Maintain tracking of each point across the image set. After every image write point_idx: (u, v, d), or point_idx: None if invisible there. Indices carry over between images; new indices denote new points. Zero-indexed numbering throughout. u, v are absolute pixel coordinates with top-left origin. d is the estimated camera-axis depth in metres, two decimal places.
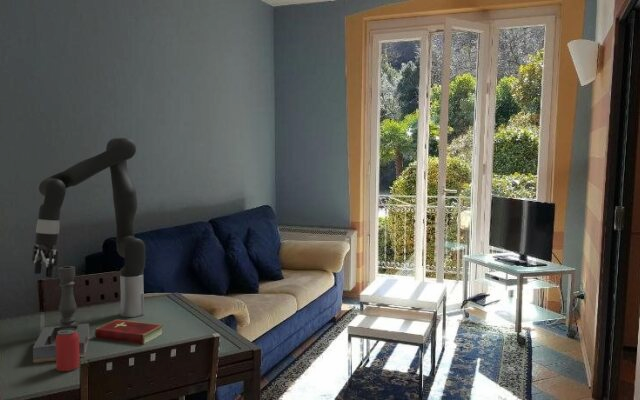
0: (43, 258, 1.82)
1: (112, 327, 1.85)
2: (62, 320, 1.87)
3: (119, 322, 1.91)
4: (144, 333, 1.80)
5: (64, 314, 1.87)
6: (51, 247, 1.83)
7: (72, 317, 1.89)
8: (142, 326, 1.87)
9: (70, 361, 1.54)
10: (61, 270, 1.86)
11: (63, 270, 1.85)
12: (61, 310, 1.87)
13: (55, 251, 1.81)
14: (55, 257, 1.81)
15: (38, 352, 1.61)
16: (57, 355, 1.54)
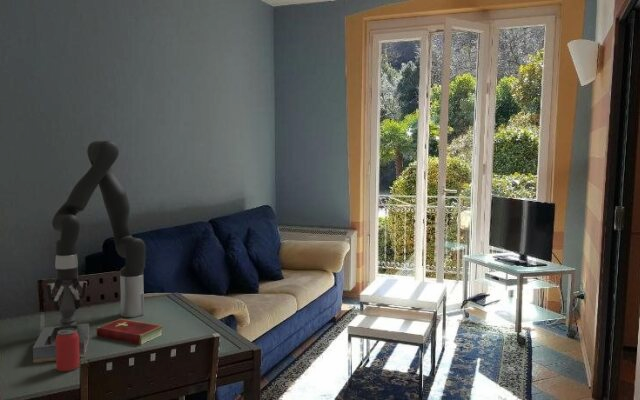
0: (73, 292, 1.88)
1: (113, 326, 1.86)
2: (62, 320, 1.87)
3: (122, 321, 1.92)
4: (141, 333, 1.79)
5: (64, 314, 1.87)
6: None
7: (72, 317, 1.89)
8: (142, 326, 1.87)
9: (70, 361, 1.54)
10: None
11: None
12: (61, 310, 1.87)
13: (86, 283, 1.91)
14: None
15: (38, 352, 1.61)
16: (57, 355, 1.54)
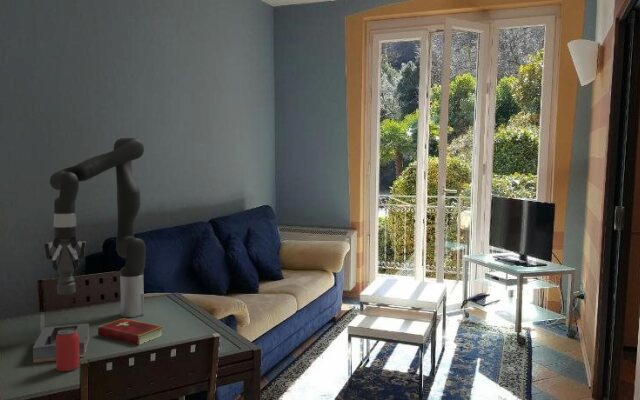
0: (71, 251, 1.85)
1: (114, 326, 1.87)
2: (60, 280, 1.84)
3: (123, 321, 1.93)
4: (140, 334, 1.79)
5: (62, 274, 1.84)
6: (76, 238, 1.87)
7: (70, 277, 1.86)
8: (142, 326, 1.87)
9: (70, 361, 1.54)
10: None
11: None
12: (59, 269, 1.84)
13: (85, 243, 1.88)
14: (84, 249, 1.89)
15: (38, 352, 1.61)
16: (57, 355, 1.54)
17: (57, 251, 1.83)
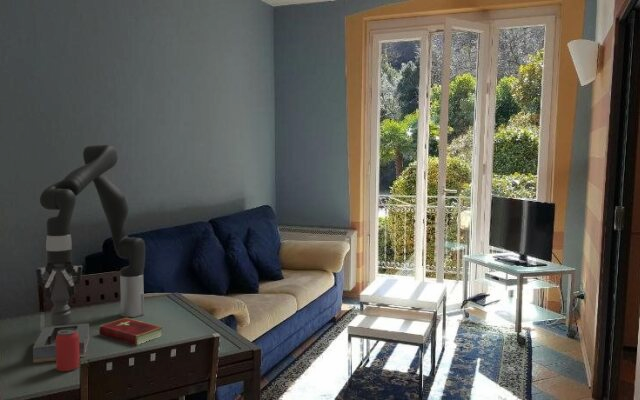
0: (66, 277, 1.66)
1: (115, 325, 1.88)
2: (54, 309, 1.65)
3: (125, 321, 1.93)
4: (138, 334, 1.78)
5: (56, 302, 1.65)
6: (72, 263, 1.68)
7: (65, 306, 1.67)
8: (142, 326, 1.86)
9: (70, 361, 1.54)
10: None
11: None
12: (53, 298, 1.65)
13: None
14: None
15: (38, 352, 1.61)
16: (57, 355, 1.54)
17: (50, 277, 1.64)
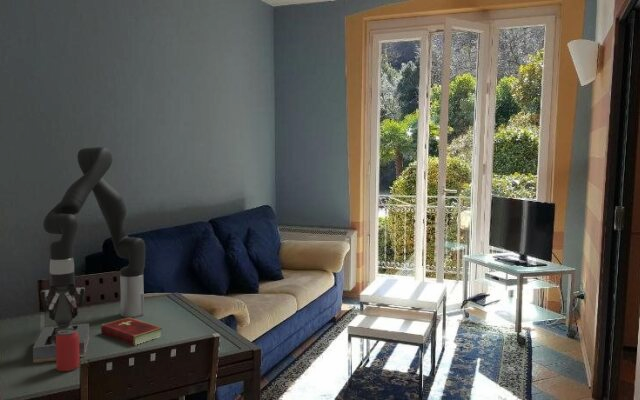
0: (69, 299, 1.71)
1: (116, 325, 1.88)
2: (58, 330, 1.70)
3: (128, 320, 1.94)
4: (136, 334, 1.78)
5: (60, 324, 1.70)
6: (74, 285, 1.73)
7: (69, 327, 1.72)
8: (142, 327, 1.86)
9: (70, 361, 1.54)
10: None
11: None
12: (56, 319, 1.70)
13: (84, 289, 1.74)
14: None
15: (38, 352, 1.61)
16: (57, 355, 1.54)
17: (54, 300, 1.69)
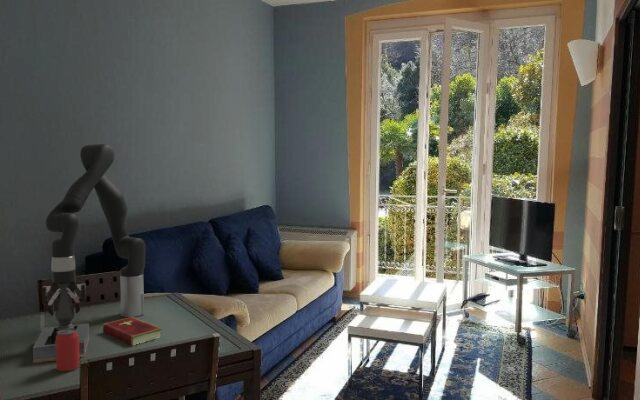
0: (71, 295, 1.76)
1: (117, 324, 1.89)
2: (59, 328, 1.75)
3: (130, 320, 1.94)
4: (134, 335, 1.78)
5: (61, 322, 1.75)
6: (75, 282, 1.78)
7: (70, 325, 1.77)
8: (142, 327, 1.86)
9: (70, 361, 1.54)
10: None
11: None
12: (58, 317, 1.74)
13: (85, 285, 1.79)
14: (85, 291, 1.79)
15: (38, 352, 1.61)
16: (57, 355, 1.54)
17: (54, 296, 1.74)
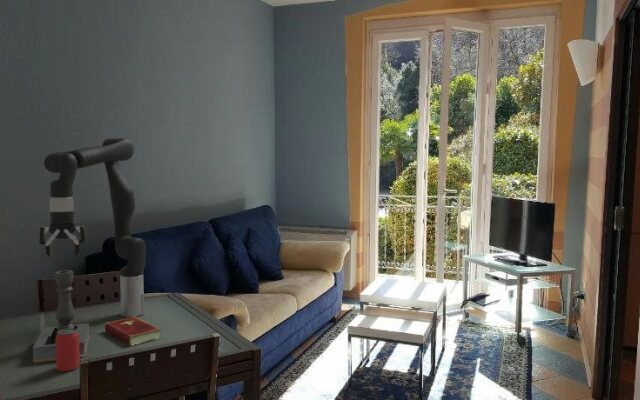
0: (70, 237, 1.74)
1: (119, 324, 1.89)
2: (59, 328, 1.75)
3: (132, 320, 1.94)
4: (132, 335, 1.78)
5: (61, 322, 1.75)
6: (74, 224, 1.76)
7: (70, 325, 1.77)
8: (142, 327, 1.86)
9: (70, 361, 1.54)
10: (58, 275, 1.74)
11: (60, 275, 1.74)
12: (58, 317, 1.75)
13: (83, 227, 1.78)
14: (84, 233, 1.78)
15: (38, 352, 1.61)
16: (57, 355, 1.54)
17: (52, 236, 1.72)
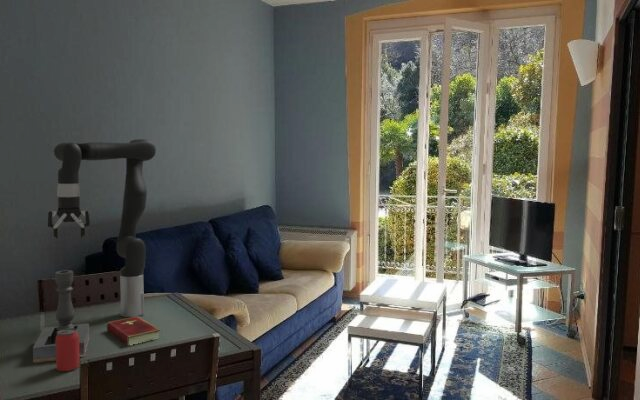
0: (76, 220, 1.89)
1: (120, 323, 1.90)
2: (59, 328, 1.75)
3: (134, 319, 1.95)
4: (131, 335, 1.77)
5: (61, 322, 1.75)
6: None
7: (70, 325, 1.77)
8: (142, 327, 1.86)
9: (70, 361, 1.54)
10: (58, 275, 1.74)
11: (60, 275, 1.73)
12: (58, 317, 1.75)
13: (88, 211, 1.92)
14: (89, 217, 1.92)
15: (38, 352, 1.61)
16: (57, 355, 1.54)
17: (60, 220, 1.87)
